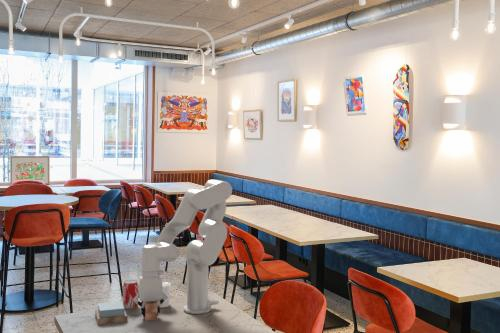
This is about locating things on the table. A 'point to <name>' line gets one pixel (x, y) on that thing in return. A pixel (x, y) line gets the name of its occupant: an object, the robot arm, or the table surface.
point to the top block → (110, 309)
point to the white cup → (167, 291)
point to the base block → (110, 318)
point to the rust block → (151, 310)
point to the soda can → (130, 293)
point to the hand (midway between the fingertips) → (150, 315)
